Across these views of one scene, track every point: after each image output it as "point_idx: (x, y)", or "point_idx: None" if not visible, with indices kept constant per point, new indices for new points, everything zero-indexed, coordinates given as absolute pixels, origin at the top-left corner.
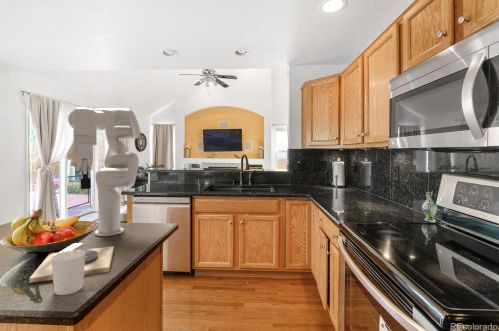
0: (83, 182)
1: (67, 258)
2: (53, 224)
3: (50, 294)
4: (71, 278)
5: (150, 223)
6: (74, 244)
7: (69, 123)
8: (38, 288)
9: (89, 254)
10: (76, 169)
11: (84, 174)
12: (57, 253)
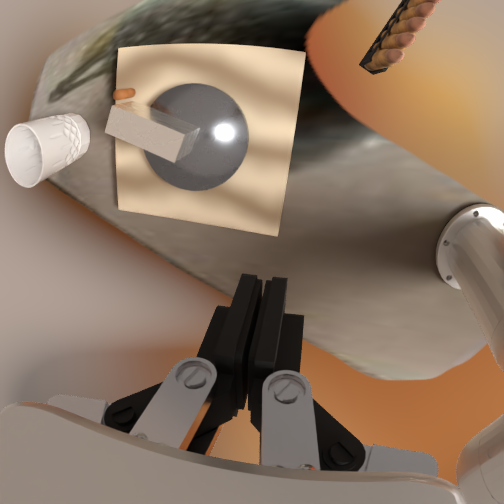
0: (204, 337)
1: (52, 143)
2: (391, 54)
3: (65, 108)
4: (36, 152)
5: (470, 352)
6: (171, 137)
7: None
8: (93, 77)
9: (192, 169)
10: (14, 404)
11: (91, 404)
12: (291, 73)
